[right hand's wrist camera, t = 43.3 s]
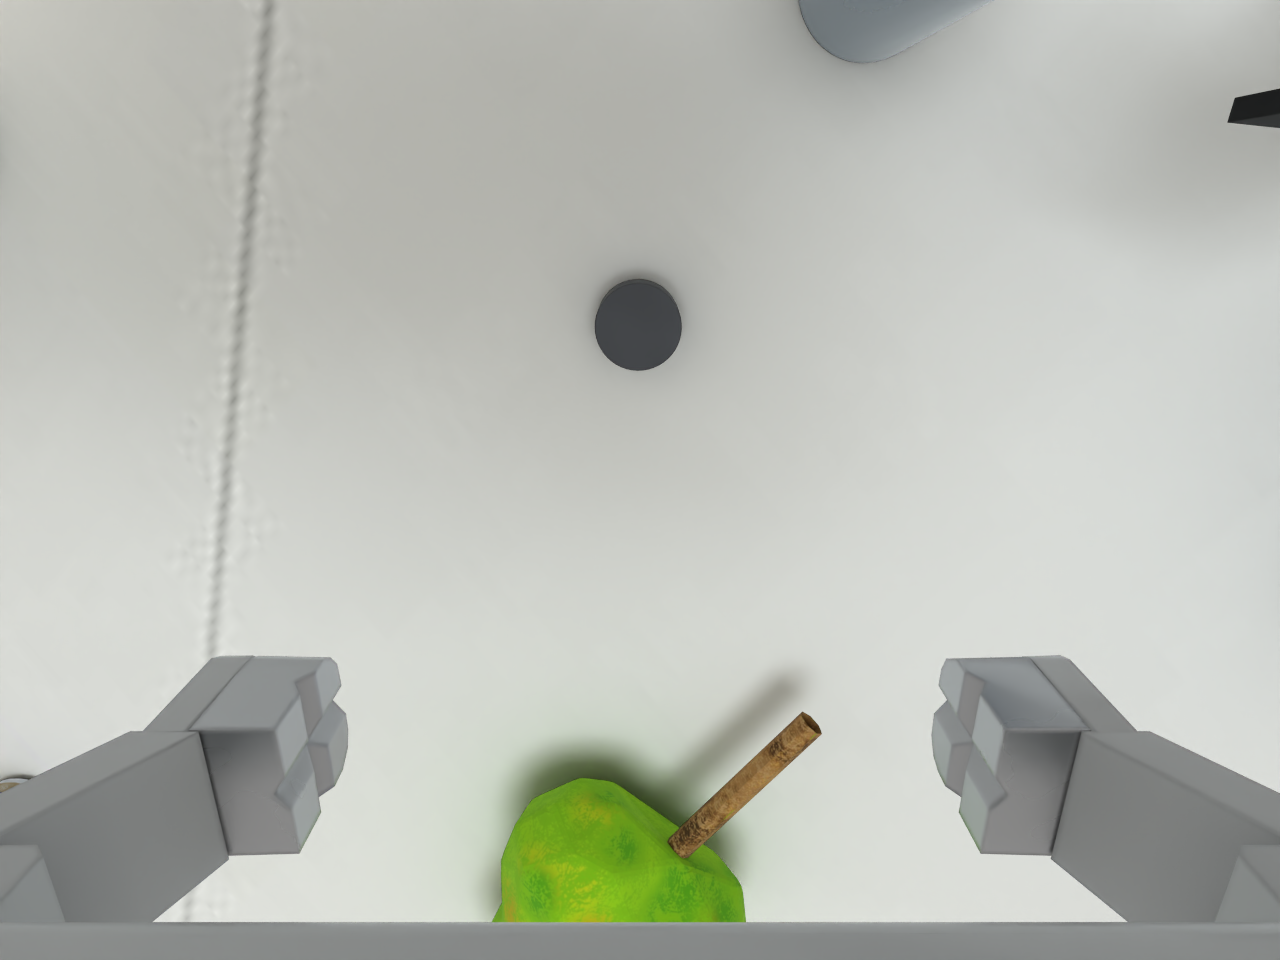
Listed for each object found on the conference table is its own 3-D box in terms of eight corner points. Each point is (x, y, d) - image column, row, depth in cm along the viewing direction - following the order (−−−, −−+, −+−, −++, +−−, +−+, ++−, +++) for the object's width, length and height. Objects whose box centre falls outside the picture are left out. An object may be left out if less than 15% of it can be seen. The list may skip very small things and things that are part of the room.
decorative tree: (944, 864, 43) (604, 1144, 50) (883, 741, 53) (606, 990, 60) (707, 694, 39) (373, 1026, 46) (688, 595, 48) (416, 881, 56)
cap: (695, 307, 42) (698, 313, 40) (651, 377, 43) (652, 386, 41) (624, 262, 41) (623, 266, 39) (582, 335, 42) (578, 342, 40)
